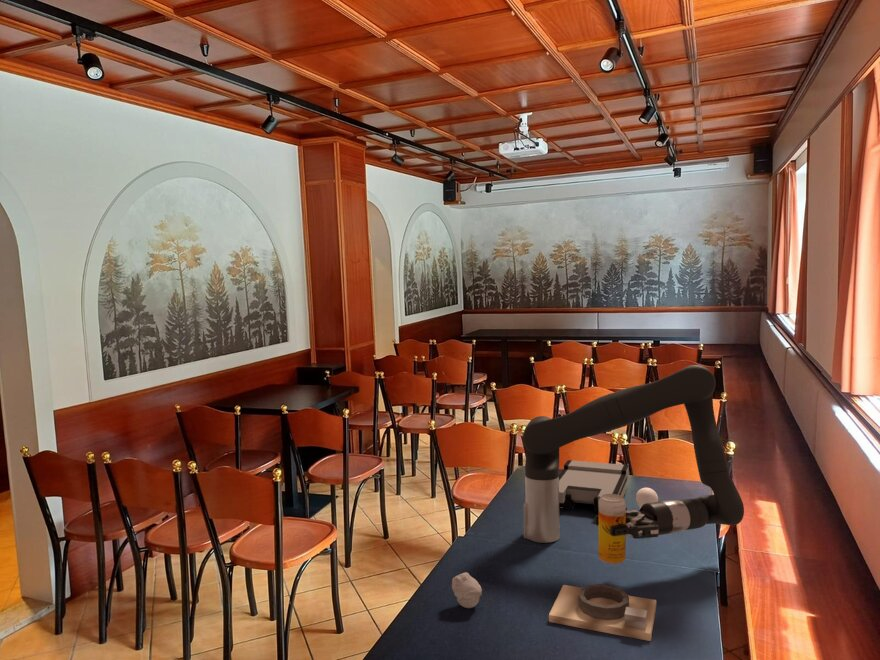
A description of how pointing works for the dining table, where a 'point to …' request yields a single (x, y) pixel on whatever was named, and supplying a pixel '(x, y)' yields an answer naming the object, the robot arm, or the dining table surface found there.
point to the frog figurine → (466, 590)
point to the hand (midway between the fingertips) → (603, 525)
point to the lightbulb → (646, 496)
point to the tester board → (604, 611)
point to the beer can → (609, 515)
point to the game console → (590, 482)
